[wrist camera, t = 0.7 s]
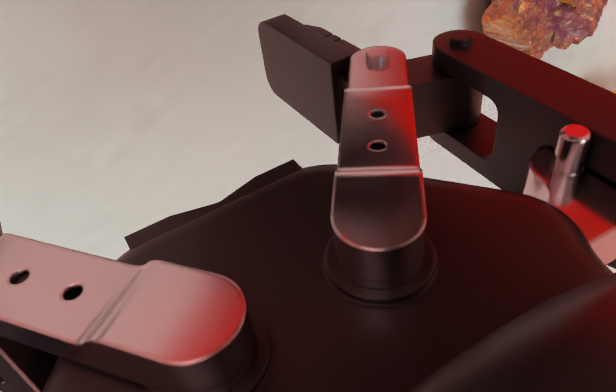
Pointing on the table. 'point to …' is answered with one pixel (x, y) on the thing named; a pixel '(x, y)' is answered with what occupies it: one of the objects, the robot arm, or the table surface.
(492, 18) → the mineral specimen
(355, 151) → the robot arm
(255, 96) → the table surface
